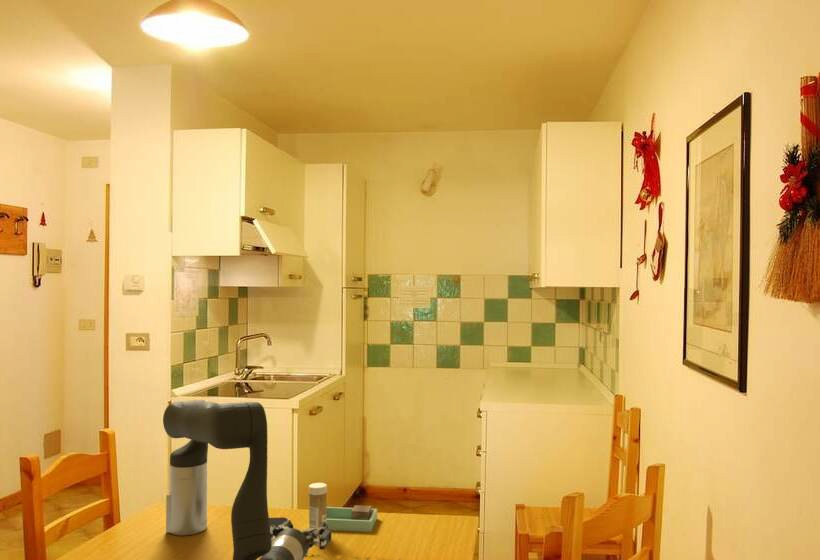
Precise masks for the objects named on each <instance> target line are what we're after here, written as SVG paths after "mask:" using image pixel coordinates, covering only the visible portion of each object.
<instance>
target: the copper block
mask: <svg viewBox="0 0 820 560" xmlns="http://www.w3.org/2000/svg"><path fill="white" fill-rule="evenodd" d="M352 508H353V509H352V511H351V520H369V519H370V517H371V509H372V505H356V504H355V505H354V506H353V507H352Z"/></svg>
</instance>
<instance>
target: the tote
mask: <svg viewBox="0 0 820 560" xmlns="http://www.w3.org/2000/svg"><path fill="white" fill-rule="evenodd" d="M326 507H327V524H328V528H331V531H342V532H344V531H345V532H362V533H363V532H364V533H365V532H367V533H371V532H372V531H373V529H374V526H375V524H376V523H377V520H378V508H371V517H370V519H369V520H351V511H352V509H353V507H342V506H341V507H335V506H326Z"/></svg>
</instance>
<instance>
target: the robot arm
mask: <svg viewBox="0 0 820 560" xmlns="http://www.w3.org/2000/svg"><path fill="white" fill-rule="evenodd" d="M162 422H163V423H162V424H163V428H164V431H165V433H166V434H167V436H168V437H170V438H172V439H182V438H185V439H188V440H189V441H188V442H187V443H185V444H184V445H182V446H181V447H179V448H177V449H175V450H174V451H172V452H171V453H170V455H169V493H168V494H166V496H165V497H166V502H165V503H166V505H165V510H166V511H165V532H166V533H168V534H169V533H170V534H172V535H175V536H191V535H197V534H200V533H202V532H203V531H205V530H206V529H207V527H208V450H209V445H210V446H211V447H214V448H215V449H219V450H234V449H236V450H237V449H245V448H246V449H247V448H249V463H248V467H247V471H246V474H245V475H244V478H243V481H242V483H241V485H240V487H239V489H238V491H237V494H236V496H235V499H234V500H233V503H232V507H231V516H230V522H231V523H230V525H231V534H232V542H233V543H232V545H233V551H232V553H233V554H232V560H304V559H305V557H306V556H307V554H308V551H309V550H310V548H312V547H314V546H316V547H317V546H318V547H319V550H321V551H322V550H325V549H326V548H327V546H328V545H329V544H330V543H331V541H332V530H331V528H328V524H326V522H322V523H321V525H320V526H319V528H316V529H315V528H313V527H312V528H310V527H309V528H306V529H300V530H299V529H297V528H294V527H293V528H291V522H292V521H291V519H288V520H287V521H286V522H284V523H283V524H282V525H279V527H276V526H274V525H272V526H270V524H269V518H270V517H269V508H268V421H267V413H266V411H265V408H264V407H263V405H262V404H261V403H260V402H258V401H243V402H242V401H239V402H223V403H219V402H218V403H217V402H213V401H205V400H203V399H195V400H184V401H175V402H172V403H170V404H168V405H167V407H166V408H165V410H164V413H163V417H162ZM318 532H319V536H318V537H317V533H318ZM310 533H311V535H310Z"/></svg>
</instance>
